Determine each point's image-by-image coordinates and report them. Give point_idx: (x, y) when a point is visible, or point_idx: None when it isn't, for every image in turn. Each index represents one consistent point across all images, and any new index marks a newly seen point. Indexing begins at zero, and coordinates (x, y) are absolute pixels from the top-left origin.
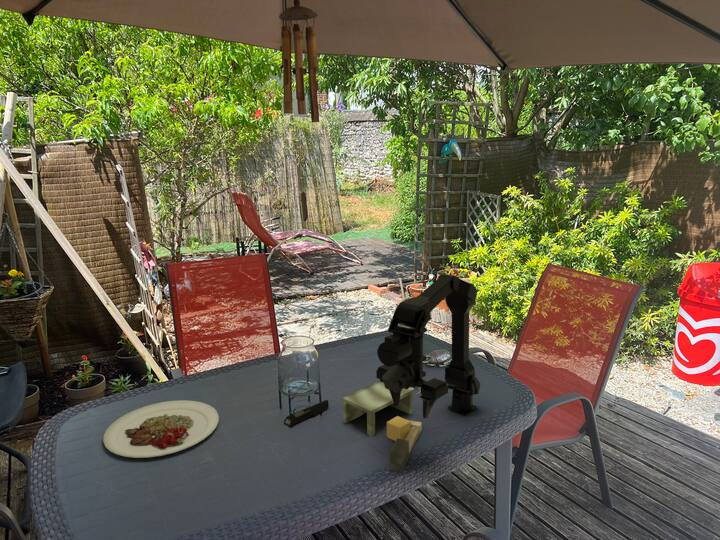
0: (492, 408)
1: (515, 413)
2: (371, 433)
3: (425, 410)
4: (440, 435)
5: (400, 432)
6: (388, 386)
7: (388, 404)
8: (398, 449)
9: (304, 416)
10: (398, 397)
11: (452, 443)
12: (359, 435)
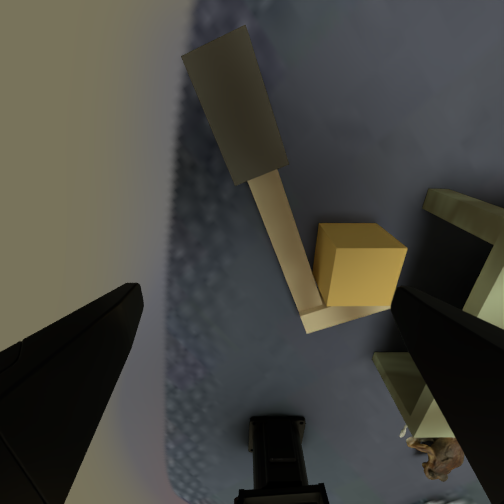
0: (223, 460)
1: (176, 468)
2: (435, 193)
3: (51, 325)
4: (244, 327)
5: (329, 243)
6: None
7: None
8: (221, 80)
9: None
10: (425, 353)
11: (194, 318)
12: (473, 163)
